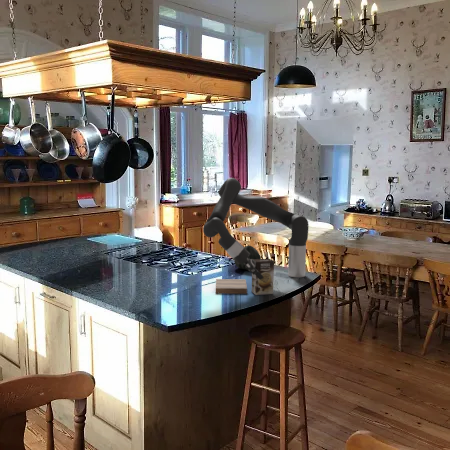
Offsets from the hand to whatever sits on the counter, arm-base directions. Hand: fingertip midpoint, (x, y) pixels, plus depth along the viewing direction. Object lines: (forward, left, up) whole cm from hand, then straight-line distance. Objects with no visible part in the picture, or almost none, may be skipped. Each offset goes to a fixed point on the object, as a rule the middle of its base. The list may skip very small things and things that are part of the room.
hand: (261, 276), depth 242 cm
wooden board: (-7, -14, -8) cm, 18 cm away
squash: (-48, -4, -8) cm, 49 cm away
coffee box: (0, +1, -8) cm, 8 cm away
